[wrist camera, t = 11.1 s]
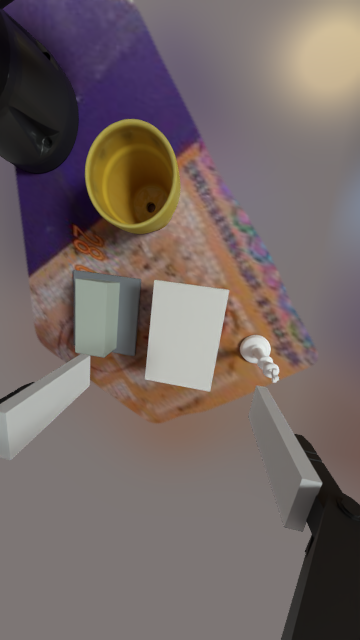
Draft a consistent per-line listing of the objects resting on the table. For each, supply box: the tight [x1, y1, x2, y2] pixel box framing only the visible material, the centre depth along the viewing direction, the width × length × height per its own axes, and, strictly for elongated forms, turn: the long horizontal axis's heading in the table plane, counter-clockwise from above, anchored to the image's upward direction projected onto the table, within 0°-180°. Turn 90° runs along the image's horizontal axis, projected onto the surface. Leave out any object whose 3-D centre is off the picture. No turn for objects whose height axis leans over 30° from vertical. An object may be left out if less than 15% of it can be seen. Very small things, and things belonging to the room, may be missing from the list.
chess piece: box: [240, 335, 279, 382], centre depth 27 cm, size 5×5×10 cm
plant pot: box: [85, 119, 180, 234], centre depth 25 cm, size 10×10×10 cm
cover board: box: [145, 280, 229, 391], centre depth 27 cm, size 15×10×2 cm, turn 173°
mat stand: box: [74, 270, 141, 357], centre depth 32 cm, size 14×12×5 cm
